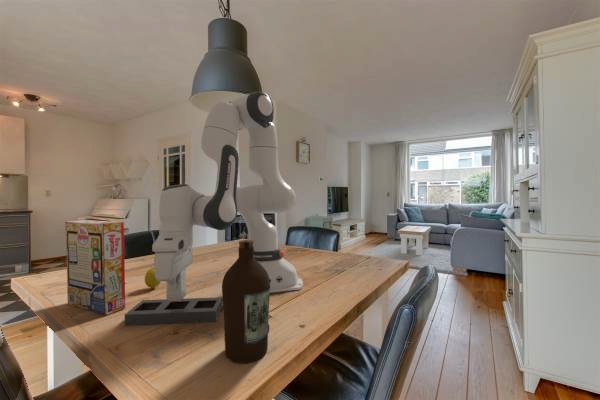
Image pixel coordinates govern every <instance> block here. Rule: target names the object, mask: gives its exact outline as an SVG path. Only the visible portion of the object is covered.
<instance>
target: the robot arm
mask: <svg viewBox="0 0 600 400" xmlns="http://www.w3.org/2000/svg"><path fill="white" fill-rule="evenodd" d="M274 112H275V111H274V103H273V100H272V99H271V97H270V96H269V95H268V94H267V93H266V92H264V91H253V92H251V93H247V94H243V95H241V96H239V97H237V98H236V99H233V100H231V101H229V102H228V101H223V100H221V101H220V100H219V101H217V102H215V103H213V105H212V106H211V108H210V110H209V111H208V114H207V117H206V119H205V122H204V125H203V128H202V129H203V130H202V132H201V133H202V134H201V139H200V140H201V141H200V144H201V145H200V148H201V150H202V151H203V153H204V154H205V155H206V156H207V157H208V158H210V160H212V161H215V163H216V166H217V173H216V182H215V191H214V193H213V194H212V195H205V194H202V193H200V192H198V191H197V190H195V189H193V188H192V187H191V186H190V185H189V184H186V183H180V184H171V185H167V186H165V187H163V188H162V189H161V192H160V195H159V196H160V197H159V204H158V216H159V220H160V224H159V225H160V226H159V228H158V229H159V233H158V236H157V238H156V240H155V241H154V242H153V244H152V246H151V248H152V252H154V257H153V267H154V272H155V278H156V280H157V281H158V282H160V283H162V282H163V283H164V282H166V283H167V282H168V284H169V291H175V290H176V289H177V283H176V276H177V275H178V274H179V273H180V272H181V271H183V270H184V269H186V268H188V267H189V266H190V265H192V264H193V261H194V253H193V252H194V249H193V245H194V244H193V243H194V240H193V239H194V238H193V237H194V236H193V235H194V232H193V231H194V229H193V228H194V227H193V226H199V227H205V228H210V229H214V230H217V231H225V230H226V229H227V230H228V229H229V228H230V227H231V226H232V225H233V224H234V223H235V222H236V219H237V217H238V214H240V215H241V217H242V218H243V220H244V222H245V226H246V228H247V234H248V235H247V236H248V240H252V241H253V247H254V258H255V259H256V260H257V261H258V262H259V263H260V264H261V265H262V266H263V267H264V269H265V270H266V271H267V273H268V276H269V279H270V294H272V293H281V292H288V291H289V292H290V291H299V290H301V289H302V288H303V287H304V282H303V279H302V278H301V277H299V276H298V273H297V269H296V267H295V266H294V265H293V264H292V263H291V262H289V261H288V260H286V259H284V256H285V253H284V251H283V249H281V248H279V247H278V246H279V245H278V241H279V240H278V235H279V234H278V229H277V227H276V226H275V225H274V224H273V223H270V222H269V221H268V220H266V218H265V215H264V214H284V213H288V212H291V211H292V210H294V207H295V206H296V203H297V195H296V192H295V191H294V189H293V187H292V186H290V185H289V184H288V183H286V181H285V180H284V178H283V177H282V175H281V173H280V169H279V168H280V167H279V156H278V155H279V153H278V152H279V147H278V144H279V142H278V134H277V129H276V125H275V124H274V123H273V121H274V114H275V113H274ZM244 129H247V132H248V135H249V142H248V145H249V146H248V167H249V169H250V171H251V173H253V174H255V175H256V176H258V177H260V178H261V179H262V184H251V185H250V184H246V185H242V186H241V185H240V186H238V178H239V177H238V175H239V166H240V165H239V162H240V160H239V159H240V158H239V152H238V150H237V140H238V135H239V131H241V130H244ZM186 270H187V269H186Z"/></svg>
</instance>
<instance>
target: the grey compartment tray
mask: <svg viewBox="0 0 600 400" xmlns="http://www.w3.org/2000/svg"><path fill="white" fill-rule="evenodd" d="M222 310H223V298H222V296H218V297H195V298H194V297H193V298H192V297H191V298H189V297H188V298H183V299H182V300H174V301H167V298H164V299H142V300H141V301H140V302H138V303H137V304H136V305H134V306H133V307H132V308H131V309H129V310H128V311H127V312H126V313H124V326H125V327H127V326H147V325H167V324H168V325H171V324H172V325H173V324H191V323H192V324H193V323H216V322H217V320H218V318H219V315H220V313H221V311H222Z"/></svg>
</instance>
